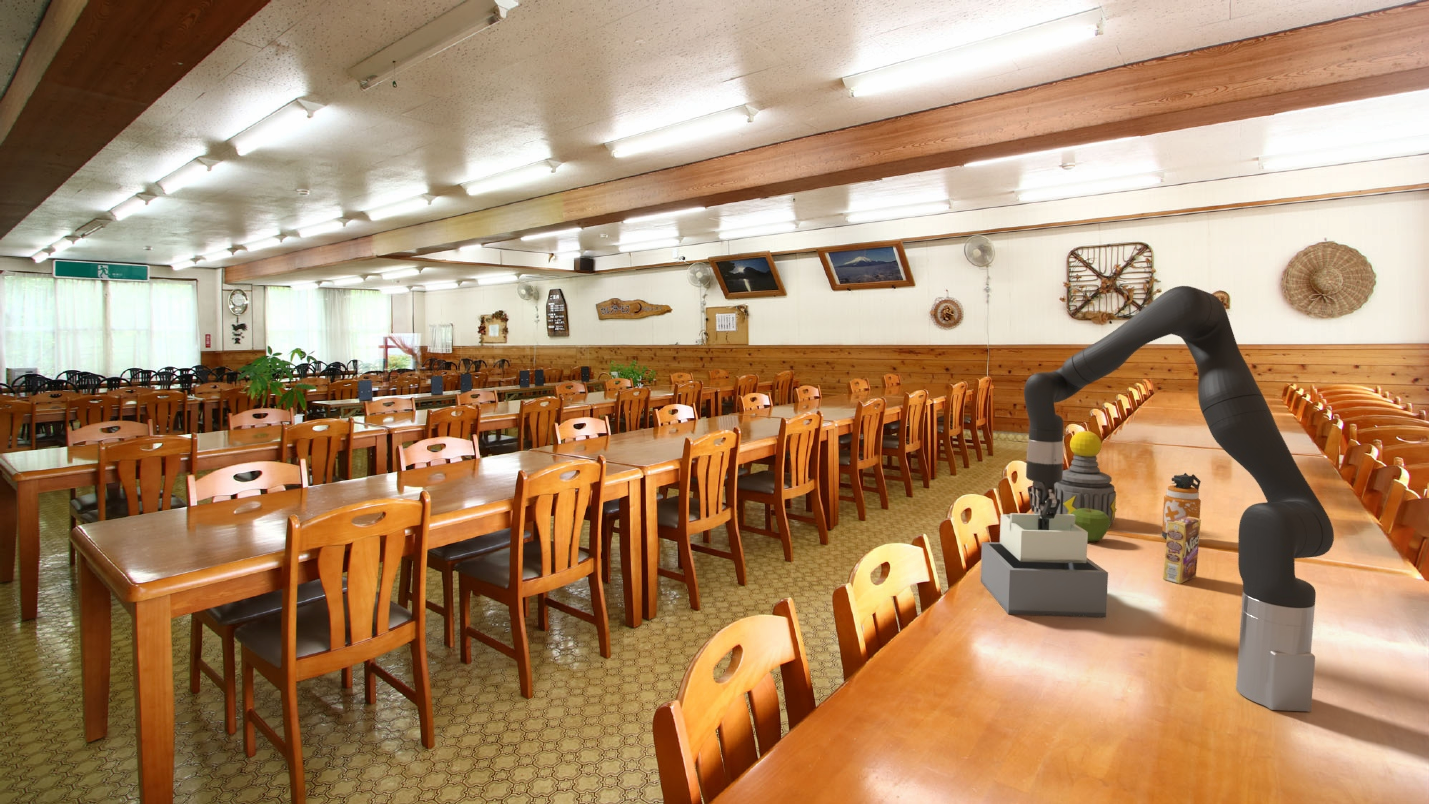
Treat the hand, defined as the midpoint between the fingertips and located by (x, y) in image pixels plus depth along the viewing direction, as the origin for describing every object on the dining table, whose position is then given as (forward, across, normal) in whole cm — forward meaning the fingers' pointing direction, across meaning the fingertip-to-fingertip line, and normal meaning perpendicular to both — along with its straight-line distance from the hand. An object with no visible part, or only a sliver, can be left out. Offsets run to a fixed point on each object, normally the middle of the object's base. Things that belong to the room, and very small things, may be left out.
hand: (1041, 533), depth 156 cm
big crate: (+15, 0, 0) cm, 15 cm away
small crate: (+4, 0, 0) cm, 4 cm away
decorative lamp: (+16, +71, -40) cm, 83 cm away
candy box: (+16, +16, -40) cm, 46 cm away
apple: (+16, +48, -32) cm, 60 cm away
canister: (+16, +51, -60) cm, 80 cm away
